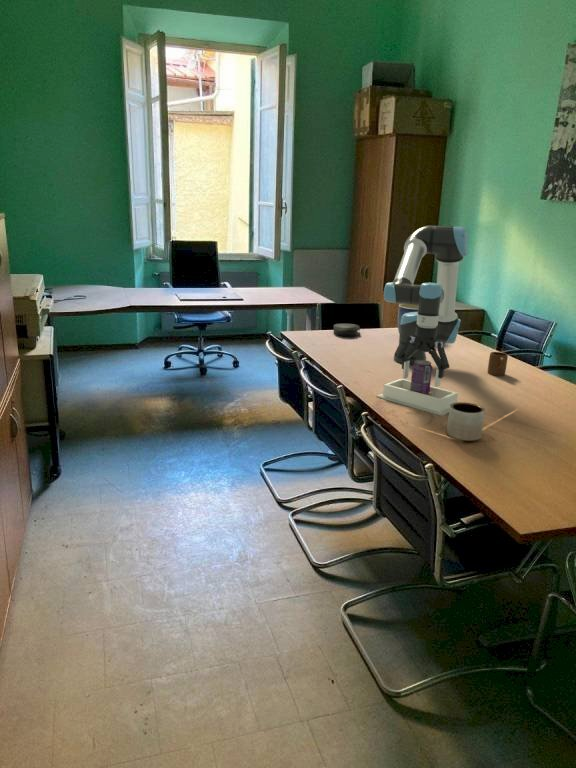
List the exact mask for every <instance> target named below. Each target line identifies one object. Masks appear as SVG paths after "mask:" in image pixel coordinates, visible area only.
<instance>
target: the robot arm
mask: <svg viewBox="0 0 576 768" xmlns="http://www.w3.org/2000/svg"><path fill="white" fill-rule="evenodd" d="M468 237H469V236H468V230H467V229H466V228H465V227H464V226H457V225H453V226H450V225H430V224H429V225H425V226H421V227H420V228H417V229H416V230H415V231H413V232H412V233H411V234H410V235H409V236H408V237H407V238H406V240H405V242H404V246H403V252H404V253H403V255H402V258H401V260H400V262H399V266H398V267H397V270H396V273H395V277H394V280H393V281H392V282H387V283H385V286H384V288H383V299H384V301H385V302H387V303H392V304H414V305H419V306H418V312H410V313H406V314H404V315H402V318H401V323H400V334H399V337H398V338H399V339H398V345H397V347H396V350H395V352H394V354H393V362H396V363H397V364H401V370H403V372H402V379H408V378H409V375H410V374H409V371H410V366H413V364H414V361H416V360H426V361H427V355H426V353H428V354H429V355H430V356H431V358H432V360H433V361H434V363H435V365H436V367H437V369H436V371H435V379H434V386H433V387H437V388H439V386H441V380H442V378H444V374H445V370H447V369H449V368H450V364H449V361H448V357H447V354H446V351H445V344H450V345H451V344H454V343H456V340H457V337H458V332H459V328H460V325H461V321H462V320H461V319H460V318H459V317H458V313H456V312H455V310H456V301H457V299H456V298H457V290H458V289H457V288H458V287H457V286H458V275H459V266H460V263H461V262H462V261H463V259H464V257H466V256H467V255H468V251H469V250H468V247H469V238H468ZM427 254H428V255H429V254H430V255H434V259H435V261H436V262H437V274H436V282H423V283H421V284H414V283H415V280H416V277H417V273H418V271H419V267H420V265H421V262H422V259H423V258H424V257H425V256H426V255H427ZM437 352H438V353H437Z"/></svg>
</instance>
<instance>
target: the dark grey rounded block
mask: <svg viewBox="0 0 576 768" xmlns="http://www.w3.org/2000/svg"><path fill="white" fill-rule="evenodd" d="M358 331H361V329H360V325H358V324H354V323H336V324H333V335H335V336H336V337H339V338H346V339H347V338H348V339H349V338H352V339H353V338H356V337H358Z"/></svg>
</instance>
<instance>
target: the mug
mask: <svg viewBox="0 0 576 768" xmlns="http://www.w3.org/2000/svg"><path fill="white" fill-rule="evenodd" d="M508 357H509V355H508V354H507V353H506V352H500V351H492V352H490V353H489V357H488V358H489V359H488V365H487V366H488V367H487V373H488V375H491V376H496V377H502V376H505V375H506V372H507V370H506V369H507V364H508Z"/></svg>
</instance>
